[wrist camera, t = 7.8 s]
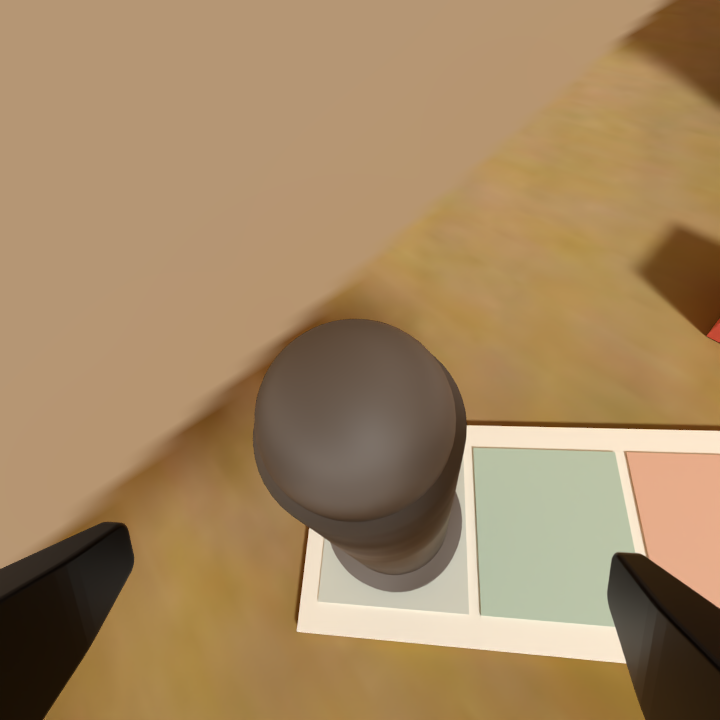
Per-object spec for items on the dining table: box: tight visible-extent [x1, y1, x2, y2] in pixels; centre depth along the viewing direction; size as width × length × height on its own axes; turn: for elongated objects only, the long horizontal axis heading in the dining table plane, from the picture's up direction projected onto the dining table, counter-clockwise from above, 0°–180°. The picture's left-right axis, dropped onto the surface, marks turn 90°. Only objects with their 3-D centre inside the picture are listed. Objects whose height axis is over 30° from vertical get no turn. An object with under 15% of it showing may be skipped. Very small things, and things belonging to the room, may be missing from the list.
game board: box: [297, 425, 720, 663], centre depth 16 cm, size 24×8×1 cm, turn 86°
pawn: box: [253, 319, 467, 592], centre depth 12 cm, size 5×5×12 cm
